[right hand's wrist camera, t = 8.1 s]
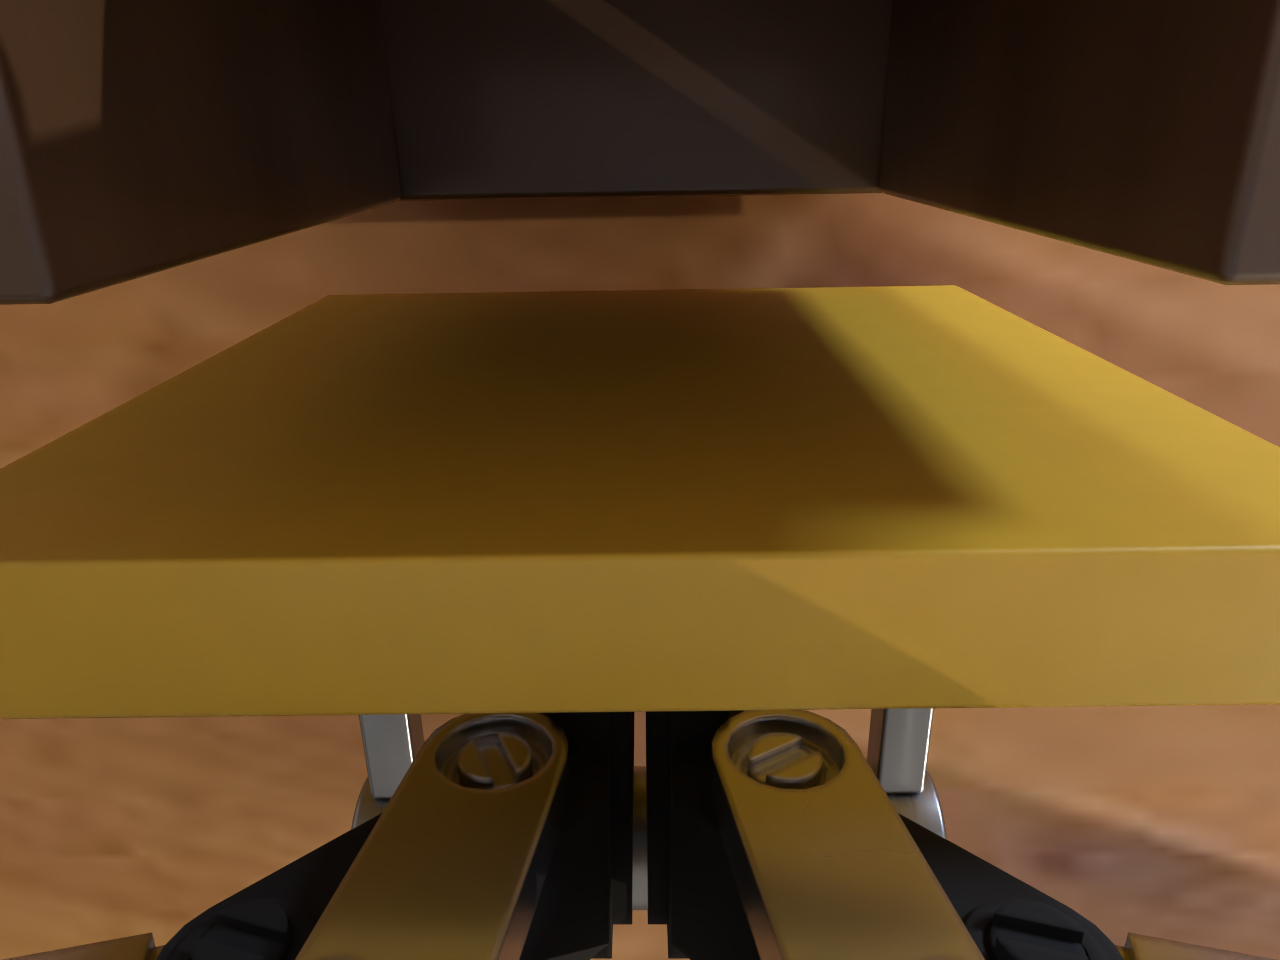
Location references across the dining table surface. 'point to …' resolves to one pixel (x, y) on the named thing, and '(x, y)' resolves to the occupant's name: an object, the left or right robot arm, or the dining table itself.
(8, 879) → the dining table surface
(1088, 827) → the dining table surface
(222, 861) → the dining table surface
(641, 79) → the drawer
